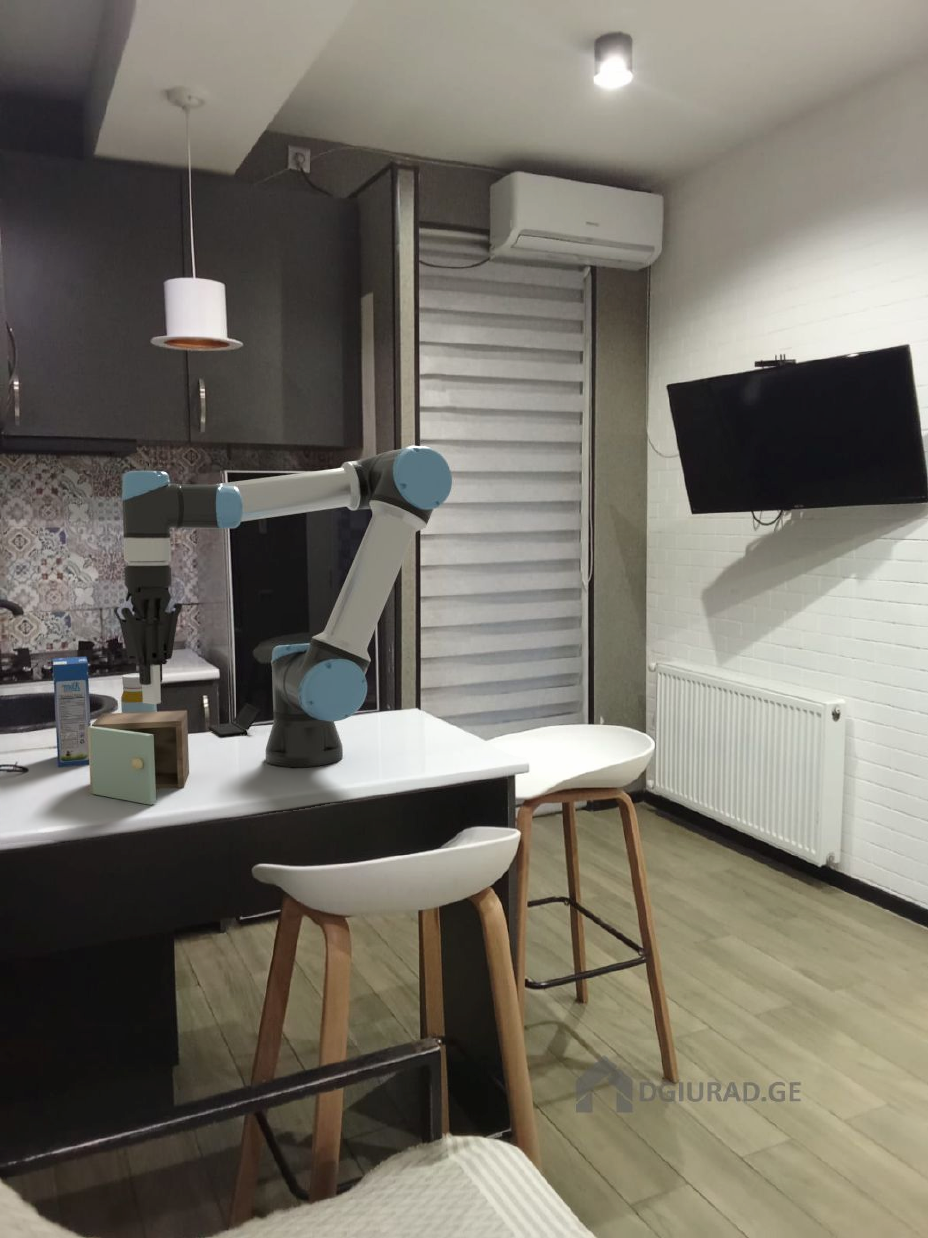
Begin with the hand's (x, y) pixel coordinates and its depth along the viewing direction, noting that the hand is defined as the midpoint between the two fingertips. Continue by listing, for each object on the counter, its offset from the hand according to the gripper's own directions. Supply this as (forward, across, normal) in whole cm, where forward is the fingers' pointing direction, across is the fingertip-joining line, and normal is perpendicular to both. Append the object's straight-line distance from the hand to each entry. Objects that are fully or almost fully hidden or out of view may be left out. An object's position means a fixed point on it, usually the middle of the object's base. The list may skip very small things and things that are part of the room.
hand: (151, 702), depth 163 cm
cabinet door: (+16, +4, -4) cm, 17 cm away
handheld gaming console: (+16, -47, -25) cm, 55 cm away
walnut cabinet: (+16, -6, -9) cm, 19 cm away
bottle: (+16, -27, -33) cm, 46 cm away
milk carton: (+17, -11, -34) cm, 40 cm away
